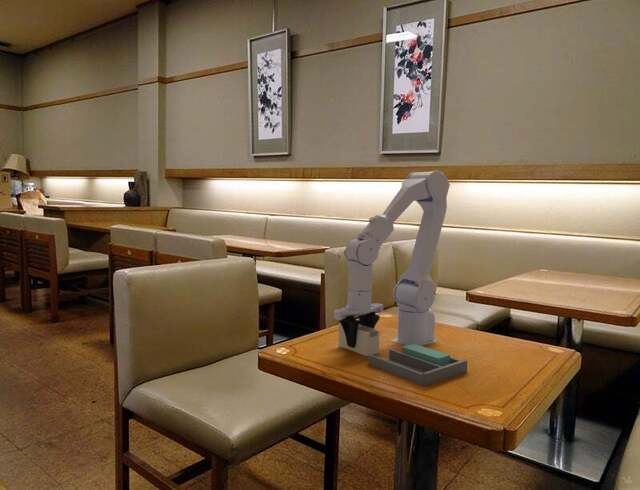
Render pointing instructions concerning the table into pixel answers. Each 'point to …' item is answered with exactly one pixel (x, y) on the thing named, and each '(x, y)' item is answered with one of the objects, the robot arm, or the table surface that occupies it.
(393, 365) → the grey divided tray
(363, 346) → the grey striped bar
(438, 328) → the table surface
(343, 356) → the table surface
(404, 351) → the teal rectangular prism
